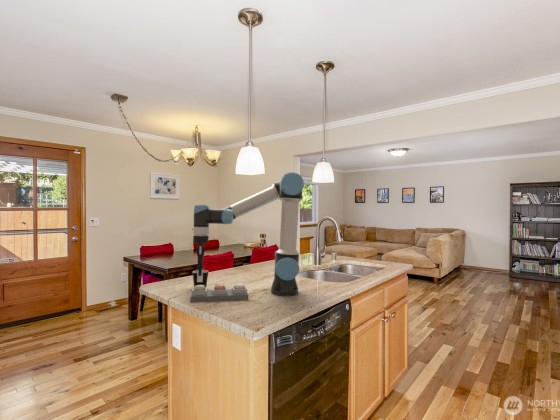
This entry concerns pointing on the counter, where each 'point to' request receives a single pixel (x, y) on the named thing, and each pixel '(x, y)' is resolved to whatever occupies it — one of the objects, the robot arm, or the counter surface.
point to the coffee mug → (205, 276)
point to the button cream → (239, 286)
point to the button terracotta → (219, 287)
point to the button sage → (199, 287)
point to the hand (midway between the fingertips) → (199, 281)
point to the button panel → (219, 294)
